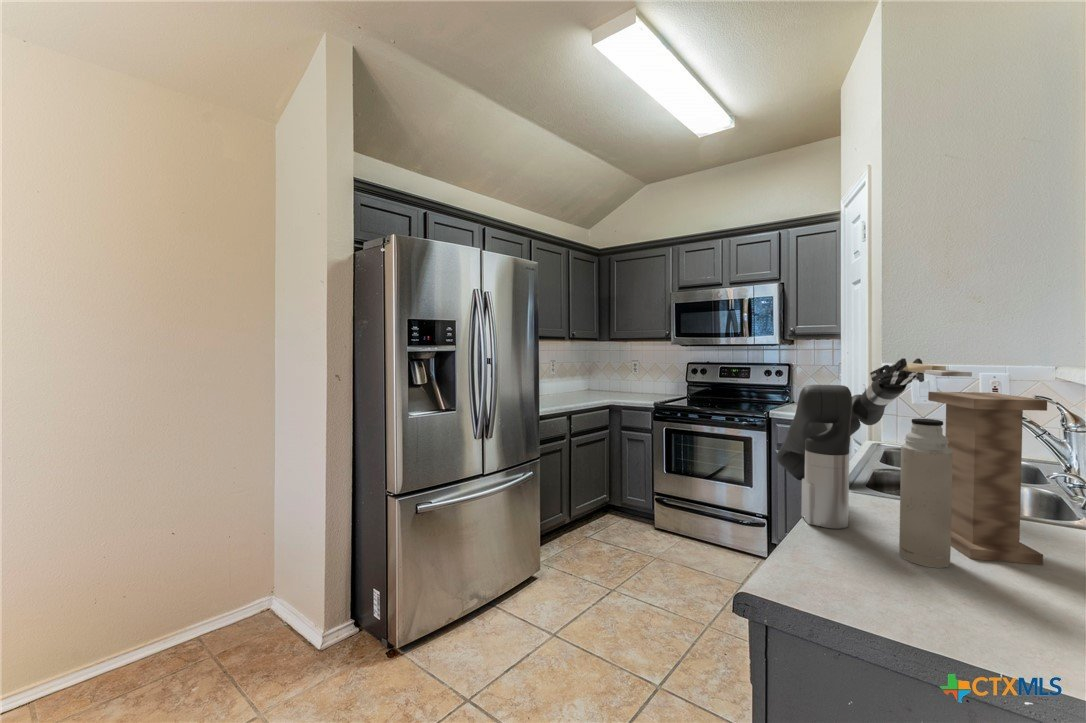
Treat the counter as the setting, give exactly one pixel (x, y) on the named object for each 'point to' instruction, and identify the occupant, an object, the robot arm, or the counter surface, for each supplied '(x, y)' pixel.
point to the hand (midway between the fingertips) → (912, 361)
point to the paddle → (934, 370)
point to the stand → (987, 473)
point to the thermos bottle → (926, 495)
